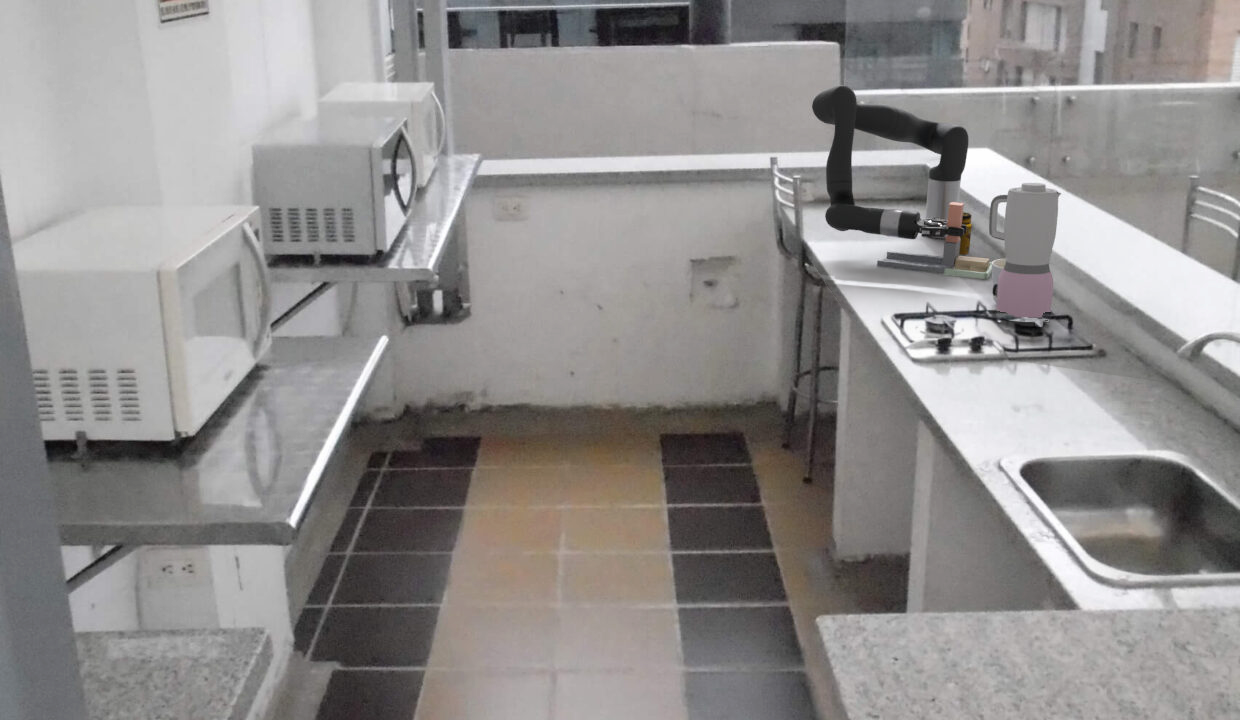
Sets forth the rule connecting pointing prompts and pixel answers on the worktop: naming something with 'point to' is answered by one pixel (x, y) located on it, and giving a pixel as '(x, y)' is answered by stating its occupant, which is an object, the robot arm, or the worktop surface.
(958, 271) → the tray
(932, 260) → the slot board
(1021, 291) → the blender
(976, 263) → the chip
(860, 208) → the robot arm
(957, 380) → the worktop surface
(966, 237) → the condiment
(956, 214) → the pink and grey block
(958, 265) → the wooden cube
